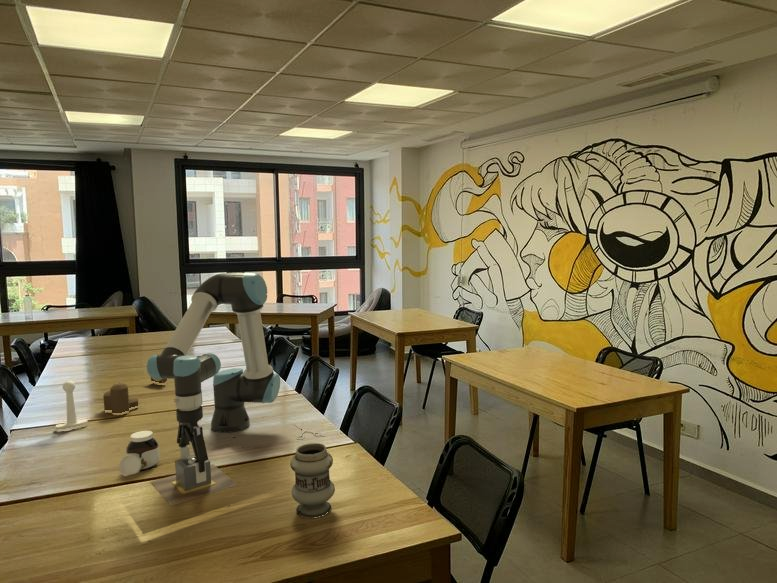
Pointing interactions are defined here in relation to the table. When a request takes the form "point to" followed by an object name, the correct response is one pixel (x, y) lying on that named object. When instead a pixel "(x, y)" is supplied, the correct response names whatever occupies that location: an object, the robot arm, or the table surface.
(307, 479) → the apothecary jar
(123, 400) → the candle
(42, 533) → the table surface
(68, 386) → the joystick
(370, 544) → the table surface
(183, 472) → the collar
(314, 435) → the scissors
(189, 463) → the steel post
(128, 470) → the spread jar
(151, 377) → the food container
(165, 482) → the base plate
